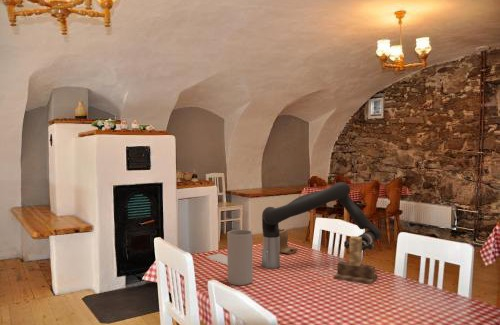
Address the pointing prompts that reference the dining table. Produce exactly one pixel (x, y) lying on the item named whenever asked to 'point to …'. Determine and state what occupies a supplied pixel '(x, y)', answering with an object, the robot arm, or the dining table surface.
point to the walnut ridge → (355, 273)
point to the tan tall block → (355, 251)
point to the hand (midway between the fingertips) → (354, 247)
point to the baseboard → (219, 258)
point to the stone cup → (285, 243)
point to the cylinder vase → (240, 257)
